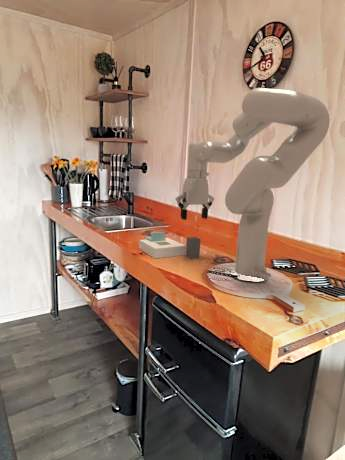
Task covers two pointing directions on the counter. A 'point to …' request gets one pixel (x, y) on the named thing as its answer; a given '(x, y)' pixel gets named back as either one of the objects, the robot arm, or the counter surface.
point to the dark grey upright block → (193, 248)
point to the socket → (162, 248)
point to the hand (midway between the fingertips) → (194, 218)
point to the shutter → (156, 236)
